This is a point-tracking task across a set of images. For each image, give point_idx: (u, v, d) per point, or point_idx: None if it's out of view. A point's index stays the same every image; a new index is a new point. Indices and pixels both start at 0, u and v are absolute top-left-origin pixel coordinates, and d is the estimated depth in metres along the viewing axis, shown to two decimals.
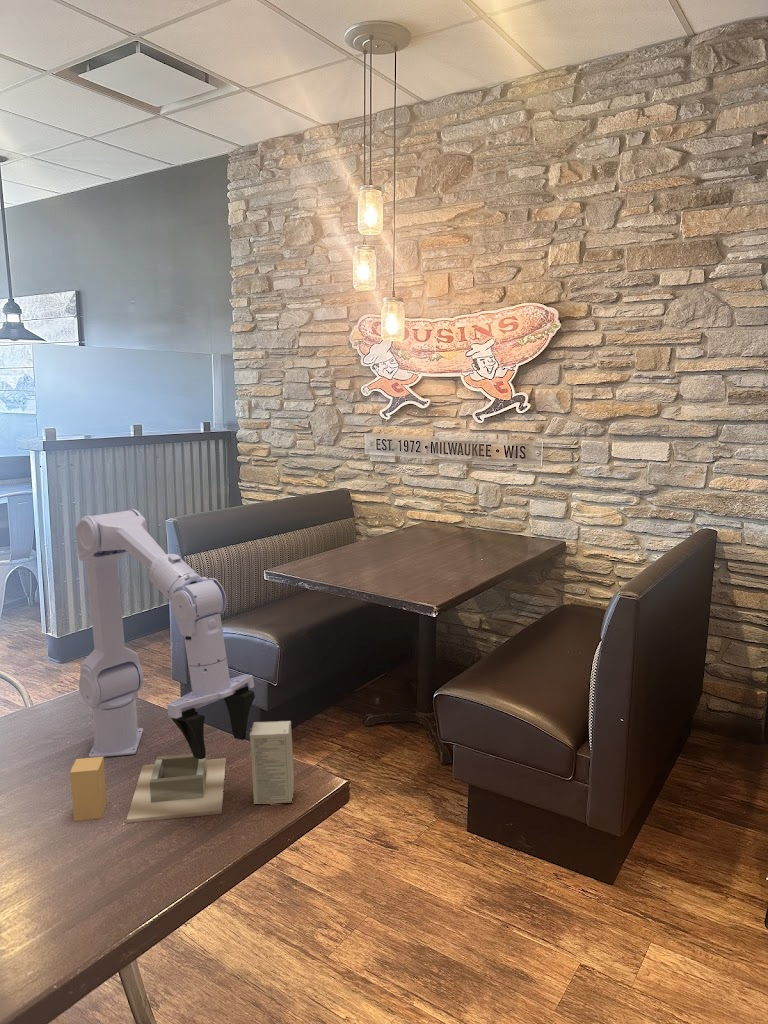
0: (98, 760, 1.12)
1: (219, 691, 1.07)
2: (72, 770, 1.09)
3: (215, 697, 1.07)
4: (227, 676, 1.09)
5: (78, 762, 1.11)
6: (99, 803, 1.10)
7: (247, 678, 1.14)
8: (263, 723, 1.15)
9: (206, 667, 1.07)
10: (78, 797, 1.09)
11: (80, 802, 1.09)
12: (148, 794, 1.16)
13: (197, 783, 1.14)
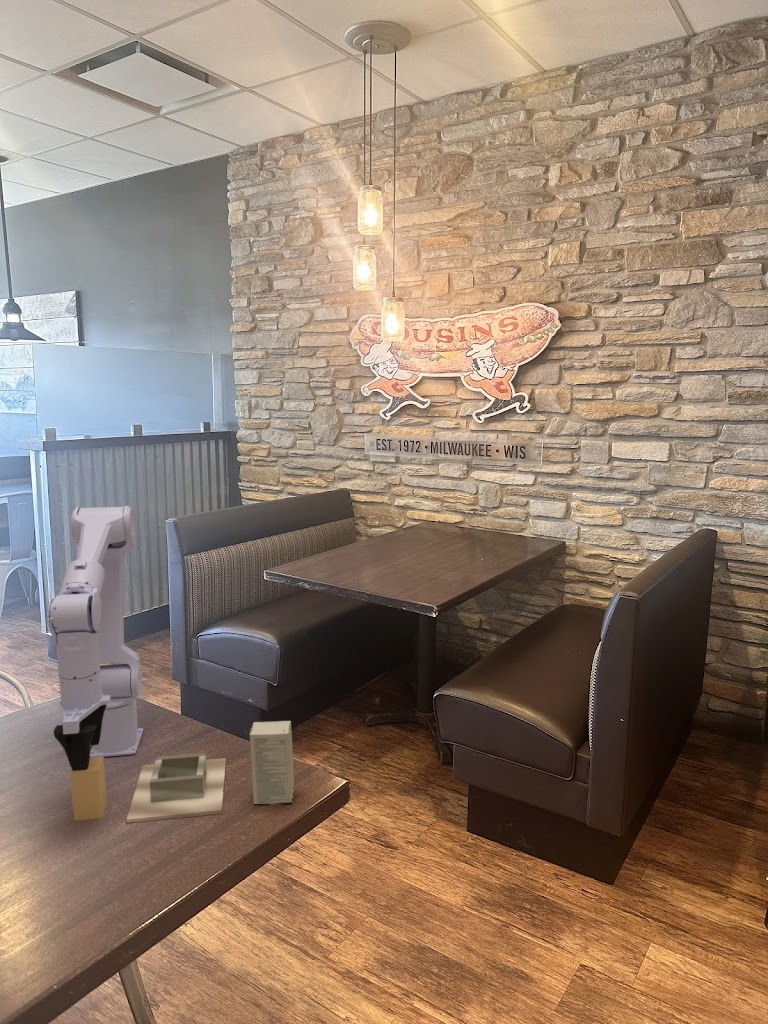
0: (98, 760, 1.12)
1: (100, 699, 1.09)
2: (72, 770, 1.09)
3: (99, 705, 1.08)
4: None
5: None
6: (99, 803, 1.10)
7: None
8: (263, 723, 1.15)
9: (92, 677, 1.07)
10: (78, 797, 1.09)
11: (80, 803, 1.09)
12: (148, 794, 1.16)
13: (197, 783, 1.14)
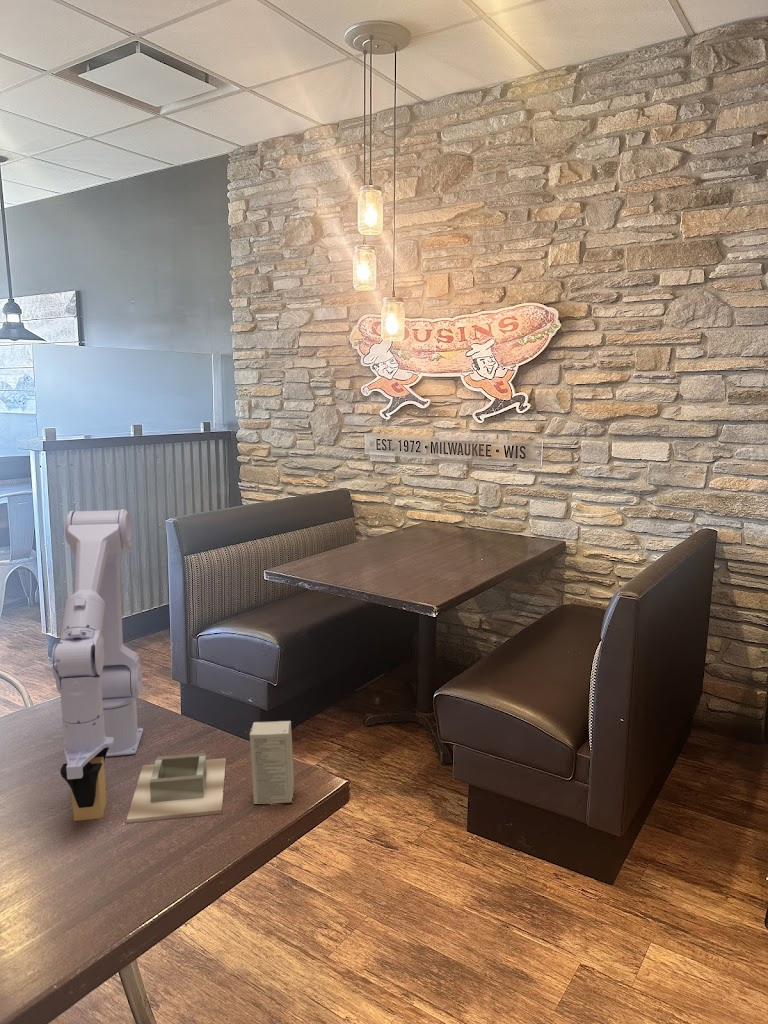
0: (98, 760, 1.12)
1: (103, 741, 1.10)
2: None
3: (102, 748, 1.09)
4: None
5: None
6: (99, 803, 1.10)
7: None
8: (263, 723, 1.15)
9: (95, 721, 1.08)
10: None
11: None
12: (148, 794, 1.16)
13: (197, 783, 1.14)
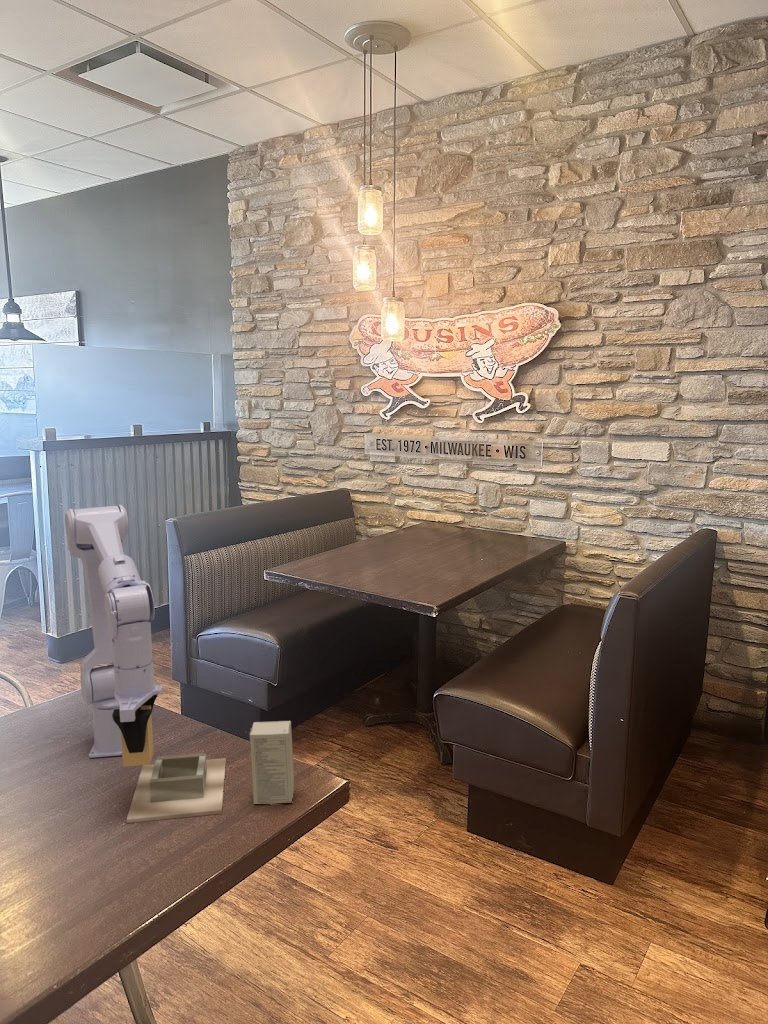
0: (146, 708, 1.14)
1: (153, 688, 1.12)
2: None
3: (152, 695, 1.11)
4: None
5: None
6: (148, 749, 1.12)
7: None
8: (263, 723, 1.15)
9: (146, 667, 1.10)
10: None
11: None
12: (148, 794, 1.16)
13: (197, 783, 1.14)
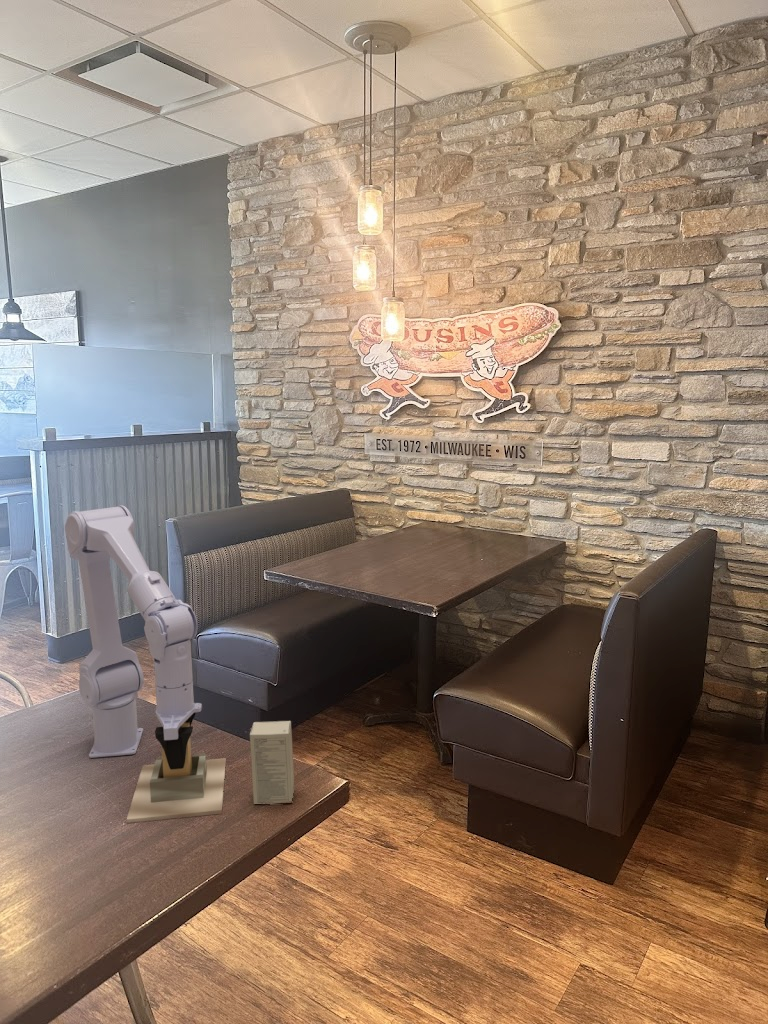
0: (185, 725, 1.17)
1: (193, 706, 1.15)
2: None
3: (192, 712, 1.15)
4: None
5: None
6: (187, 765, 1.15)
7: None
8: (263, 723, 1.15)
9: (187, 686, 1.13)
10: None
11: None
12: (148, 794, 1.16)
13: (197, 783, 1.14)
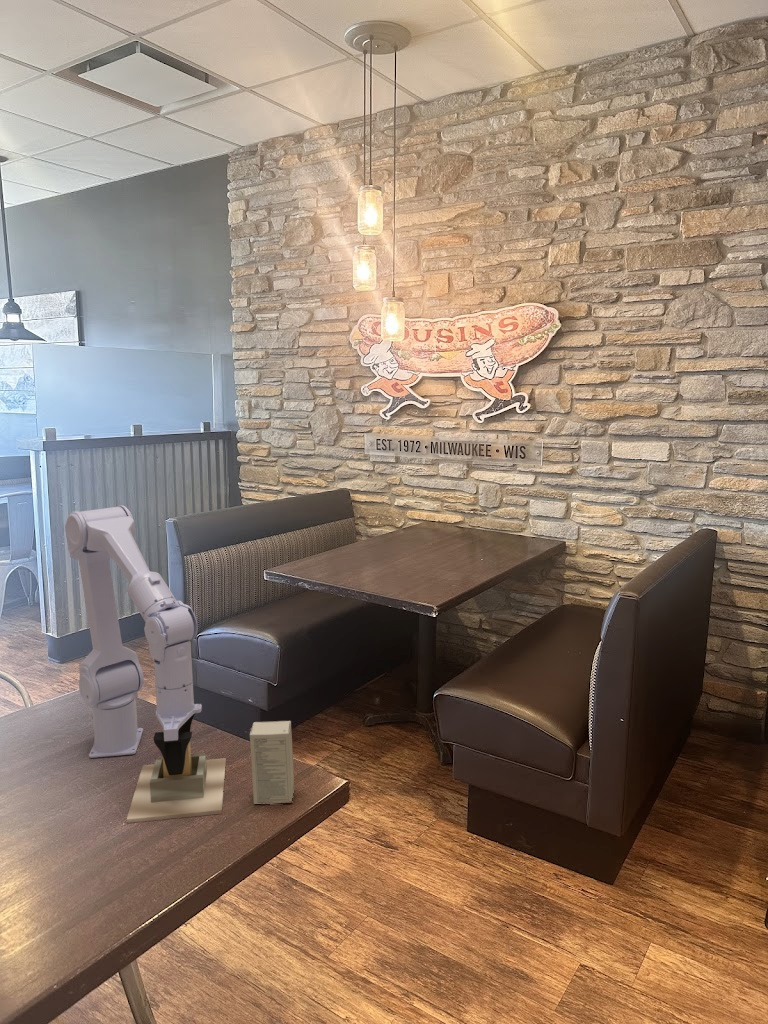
0: None
1: (193, 707, 1.15)
2: None
3: (192, 713, 1.15)
4: None
5: None
6: None
7: None
8: (263, 723, 1.15)
9: (187, 687, 1.13)
10: None
11: None
12: (148, 794, 1.16)
13: (197, 783, 1.14)
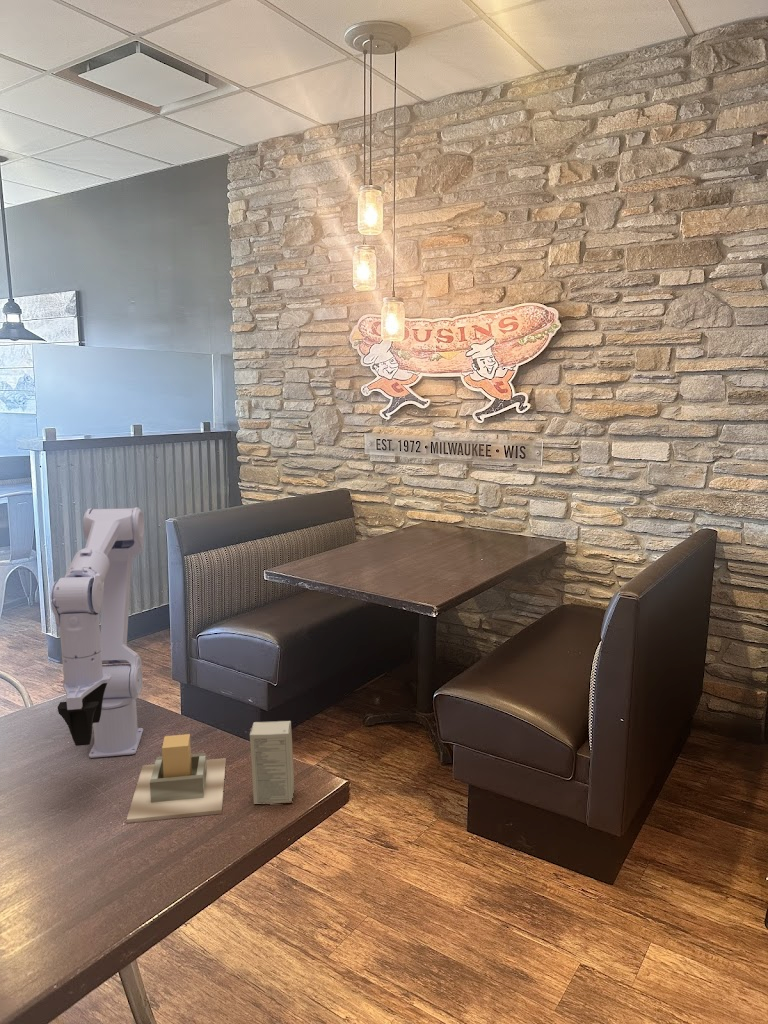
0: (186, 737, 1.18)
1: (101, 677, 1.14)
2: (163, 746, 1.15)
3: (100, 683, 1.13)
4: None
5: (167, 739, 1.17)
6: None
7: None
8: (263, 723, 1.15)
9: (94, 656, 1.12)
10: (169, 772, 1.15)
11: None
12: (148, 794, 1.16)
13: (197, 783, 1.14)
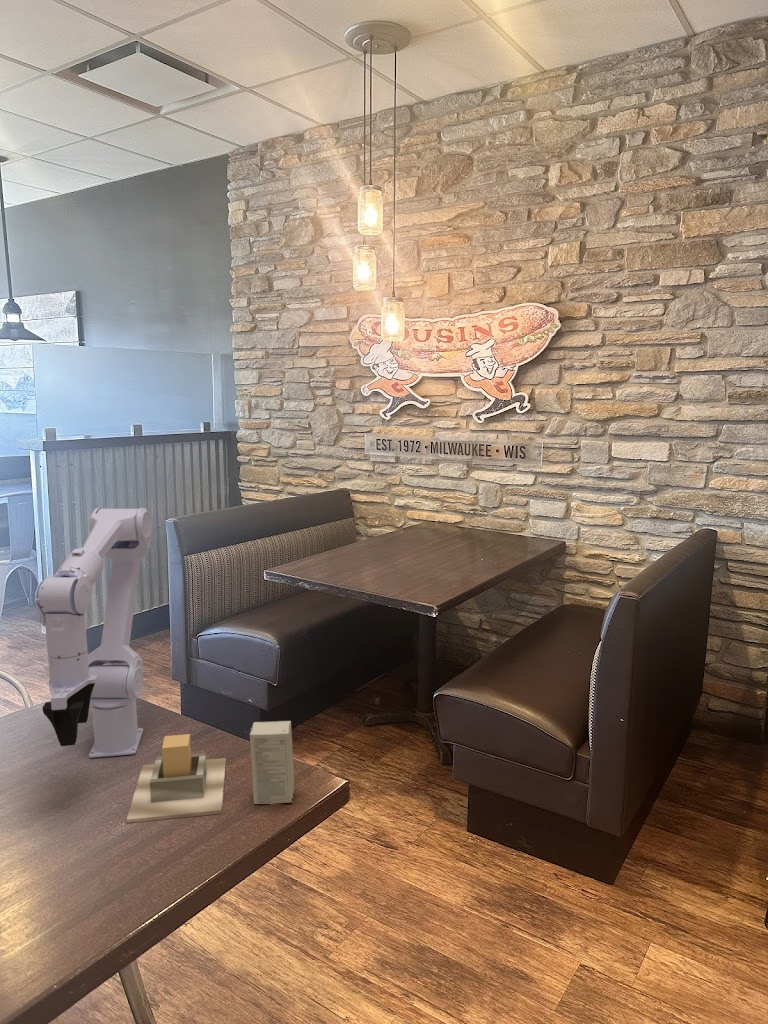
0: (186, 737, 1.18)
1: (87, 678, 1.14)
2: (163, 746, 1.15)
3: (86, 684, 1.13)
4: (87, 663, 1.15)
5: (167, 739, 1.17)
6: None
7: None
8: (263, 723, 1.15)
9: (79, 657, 1.12)
10: (169, 772, 1.15)
11: None
12: (148, 794, 1.16)
13: (197, 783, 1.14)
